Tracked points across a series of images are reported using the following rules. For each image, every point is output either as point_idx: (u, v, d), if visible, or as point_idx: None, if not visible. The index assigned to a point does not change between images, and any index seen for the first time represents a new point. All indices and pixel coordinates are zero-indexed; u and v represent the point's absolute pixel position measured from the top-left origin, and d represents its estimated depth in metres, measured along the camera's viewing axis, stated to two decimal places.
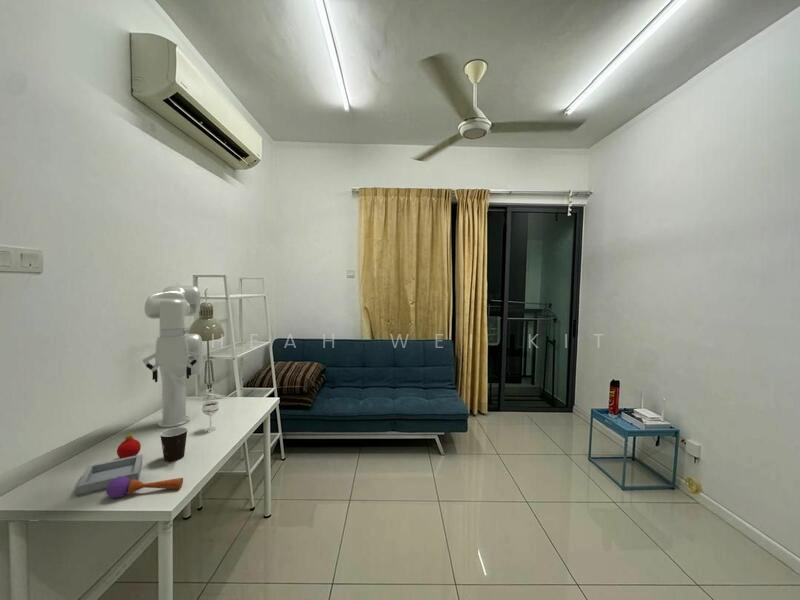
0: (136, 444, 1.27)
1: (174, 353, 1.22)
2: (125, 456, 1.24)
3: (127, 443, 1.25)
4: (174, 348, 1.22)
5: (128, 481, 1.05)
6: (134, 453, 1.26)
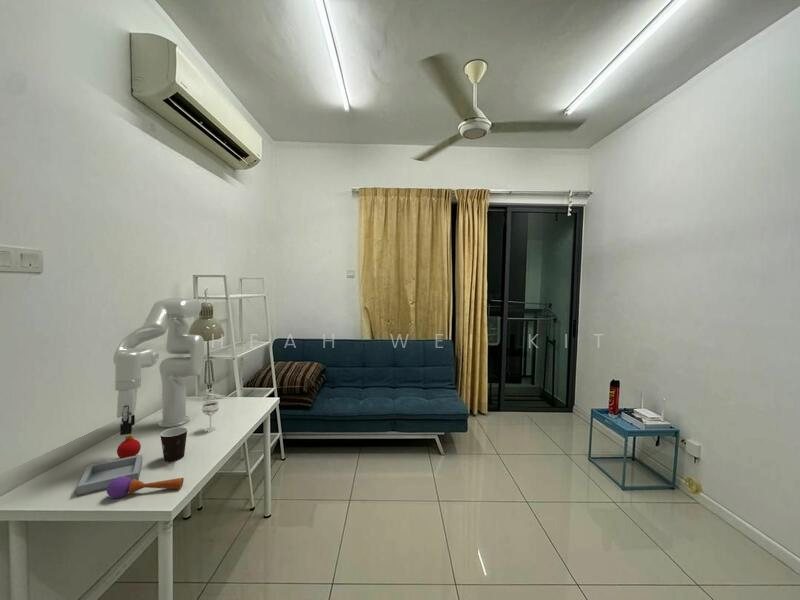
0: (136, 444, 1.27)
1: (136, 401, 1.28)
2: (125, 456, 1.24)
3: (127, 443, 1.25)
4: (135, 396, 1.28)
5: (129, 481, 1.05)
6: (134, 453, 1.26)
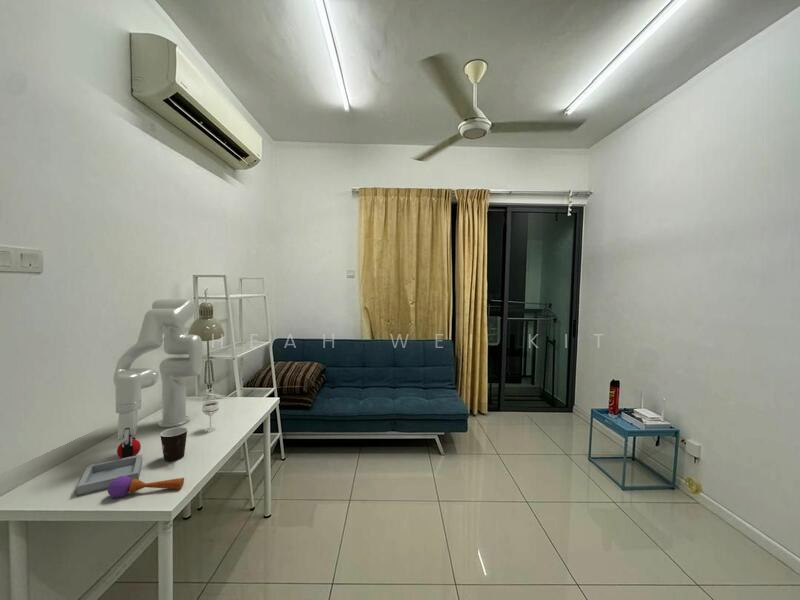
0: (136, 444, 1.27)
1: None
2: None
3: None
4: None
5: (129, 481, 1.05)
6: (134, 453, 1.26)
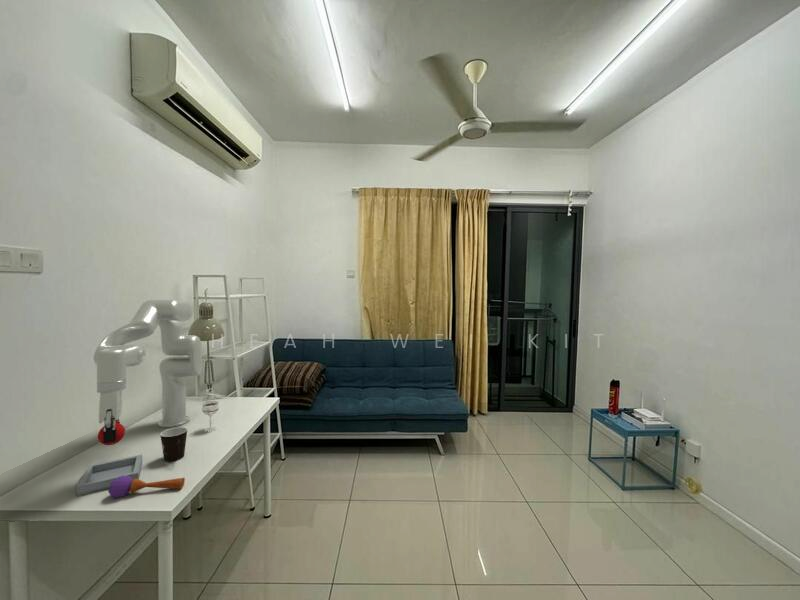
0: (120, 428, 1.13)
1: (121, 404, 1.15)
2: None
3: None
4: (120, 399, 1.15)
5: (130, 480, 1.05)
6: (117, 438, 1.12)
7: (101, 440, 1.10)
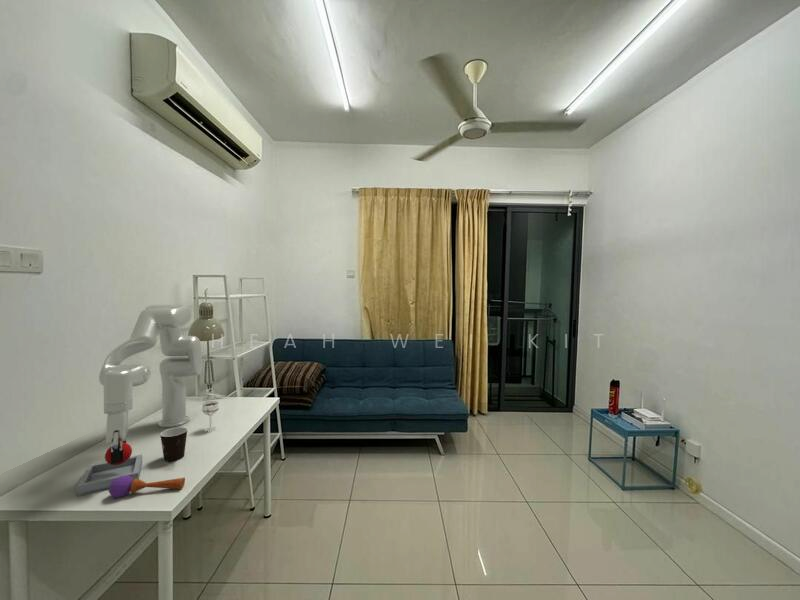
0: (127, 448, 1.15)
1: (127, 424, 1.16)
2: None
3: None
4: None
5: (130, 480, 1.05)
6: (124, 458, 1.13)
7: (108, 460, 1.11)
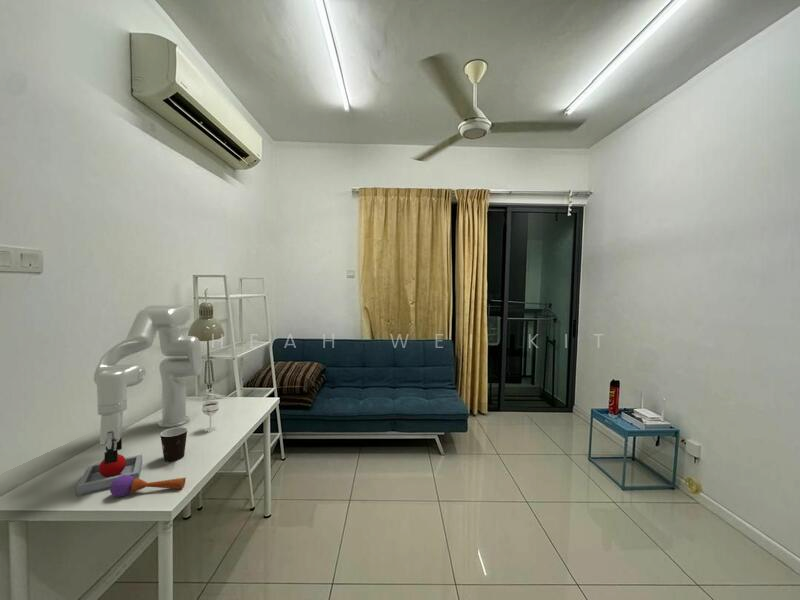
0: (121, 460, 1.14)
1: (122, 425, 1.16)
2: (108, 474, 1.11)
3: None
4: (121, 419, 1.16)
5: (131, 480, 1.05)
6: (118, 470, 1.13)
7: (102, 473, 1.11)
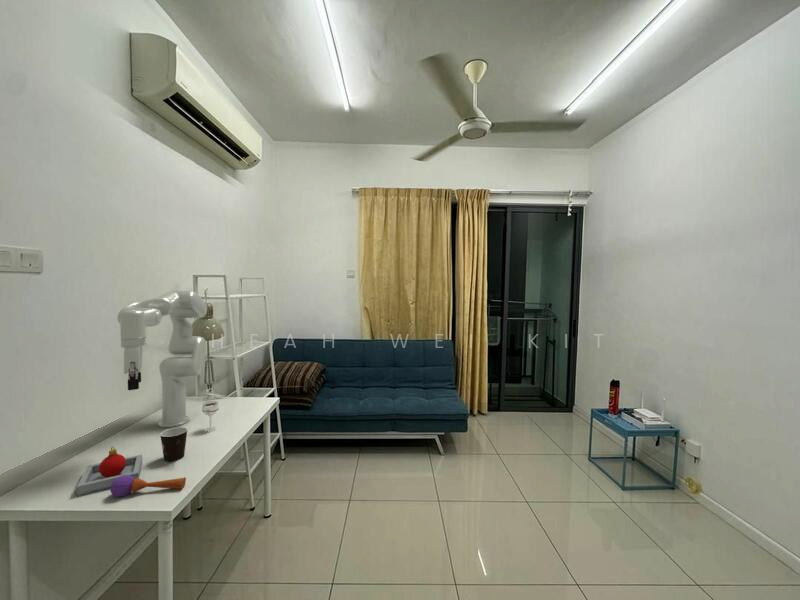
0: (121, 460, 1.14)
1: None
2: (108, 474, 1.11)
3: (111, 459, 1.12)
4: None
5: (132, 480, 1.05)
6: (118, 470, 1.13)
7: (102, 473, 1.11)
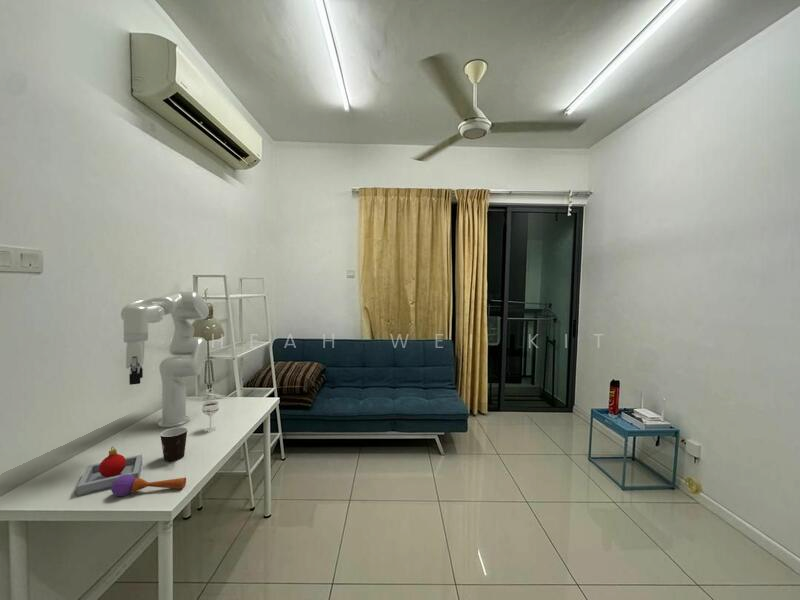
0: (121, 460, 1.14)
1: None
2: (108, 474, 1.11)
3: (111, 459, 1.12)
4: None
5: (132, 479, 1.06)
6: (118, 470, 1.13)
7: (102, 473, 1.11)
